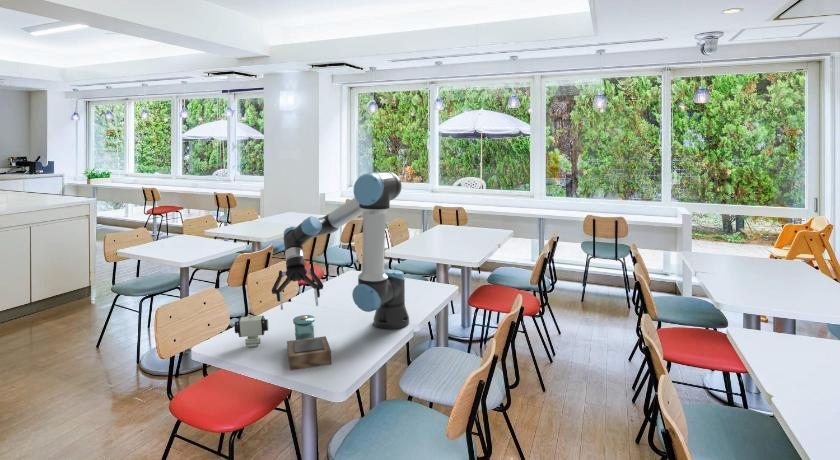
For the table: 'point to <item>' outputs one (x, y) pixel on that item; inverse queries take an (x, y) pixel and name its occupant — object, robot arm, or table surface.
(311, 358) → the walnut stand
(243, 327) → the pneumatic valve
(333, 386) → the table surface
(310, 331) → the teal glass jar
